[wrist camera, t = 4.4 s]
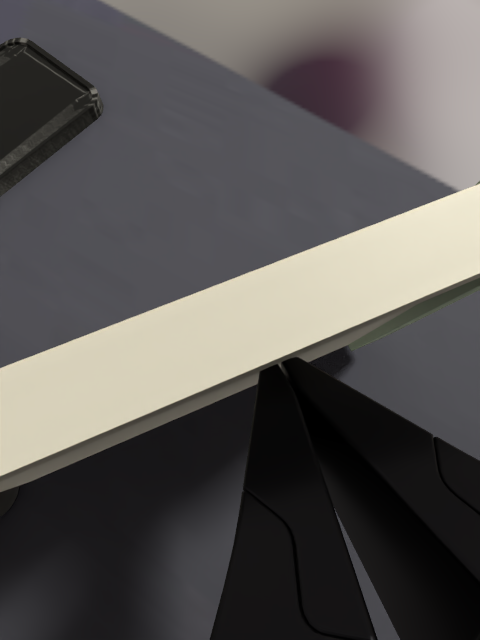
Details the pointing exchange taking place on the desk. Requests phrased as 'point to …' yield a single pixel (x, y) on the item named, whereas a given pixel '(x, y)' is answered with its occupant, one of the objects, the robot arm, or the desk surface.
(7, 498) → the garden fence
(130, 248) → the desk surface
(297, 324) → the bar
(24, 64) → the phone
